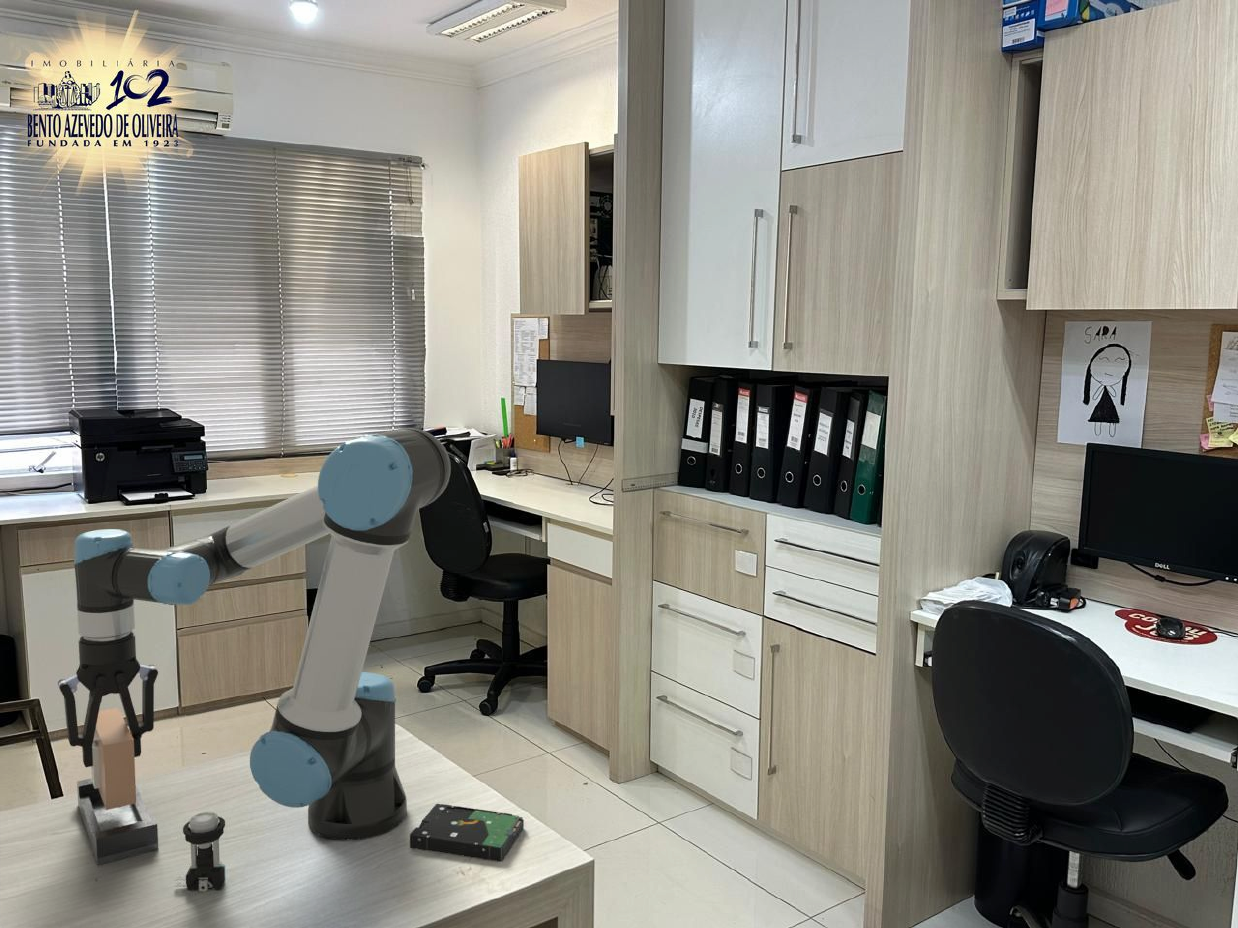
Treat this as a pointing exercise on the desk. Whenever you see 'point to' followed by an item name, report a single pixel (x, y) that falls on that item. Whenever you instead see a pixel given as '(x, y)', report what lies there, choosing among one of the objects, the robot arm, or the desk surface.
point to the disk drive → (467, 832)
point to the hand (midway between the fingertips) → (113, 780)
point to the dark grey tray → (116, 826)
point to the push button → (204, 853)
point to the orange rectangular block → (115, 760)
